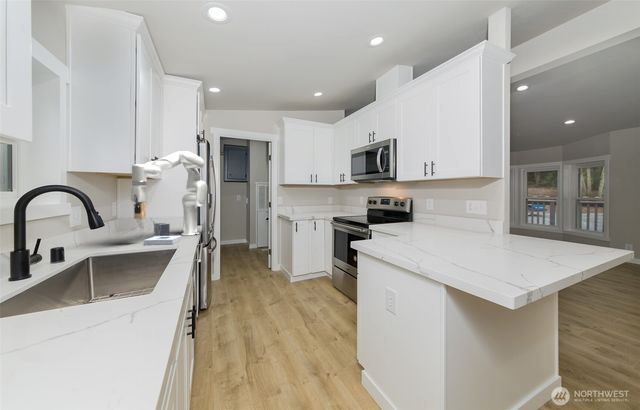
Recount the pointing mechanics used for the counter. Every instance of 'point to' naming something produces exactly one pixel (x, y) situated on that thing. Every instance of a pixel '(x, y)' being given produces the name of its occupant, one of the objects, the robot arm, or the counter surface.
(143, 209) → the peg
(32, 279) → the counter surface
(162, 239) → the socket
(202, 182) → the robot arm
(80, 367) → the counter surface
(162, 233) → the small box
